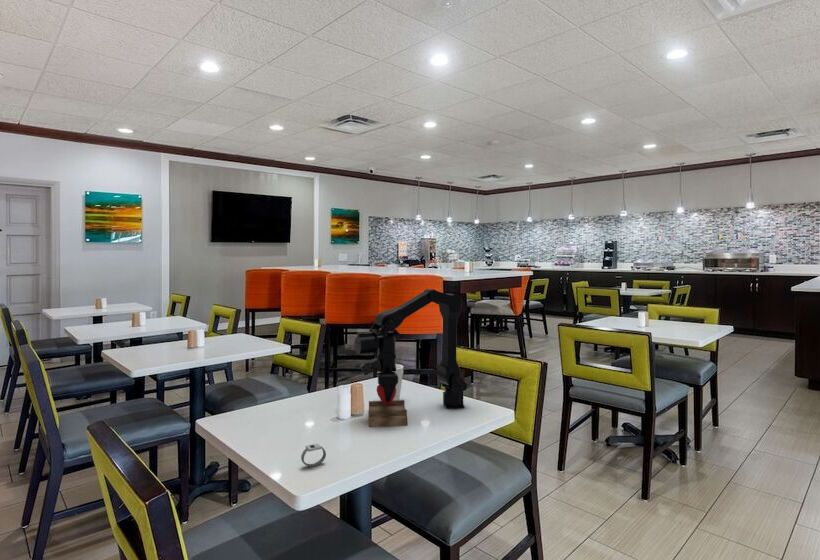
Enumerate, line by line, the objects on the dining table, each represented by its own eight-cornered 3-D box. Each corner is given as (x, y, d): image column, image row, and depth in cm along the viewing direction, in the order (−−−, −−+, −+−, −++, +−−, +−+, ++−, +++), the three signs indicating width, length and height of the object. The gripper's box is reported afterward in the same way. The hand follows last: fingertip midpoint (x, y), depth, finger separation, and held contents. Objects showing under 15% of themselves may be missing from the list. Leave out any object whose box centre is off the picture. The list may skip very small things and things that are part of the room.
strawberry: (385, 410, 150) (385, 379, 150) (372, 405, 156) (372, 375, 156) (400, 407, 154) (400, 376, 153) (387, 402, 160) (387, 372, 159)
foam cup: (406, 399, 176) (406, 364, 175) (400, 406, 167) (399, 370, 166) (381, 397, 178) (381, 363, 177) (374, 405, 169) (374, 368, 168)
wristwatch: (323, 460, 122) (323, 441, 122) (327, 464, 120) (327, 445, 120) (300, 466, 119) (299, 446, 119) (303, 470, 117) (303, 450, 117)
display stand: (403, 409, 164) (403, 397, 163) (407, 425, 148) (407, 412, 148) (368, 410, 163) (368, 399, 162) (369, 426, 147) (368, 414, 146)
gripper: (362, 346, 163) (362, 391, 163) (361, 357, 144) (362, 408, 145) (394, 345, 164) (395, 390, 164) (397, 356, 145) (398, 406, 146)
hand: (387, 398), depth 155 cm, fingers closed on strawberry, 7 cm apart
